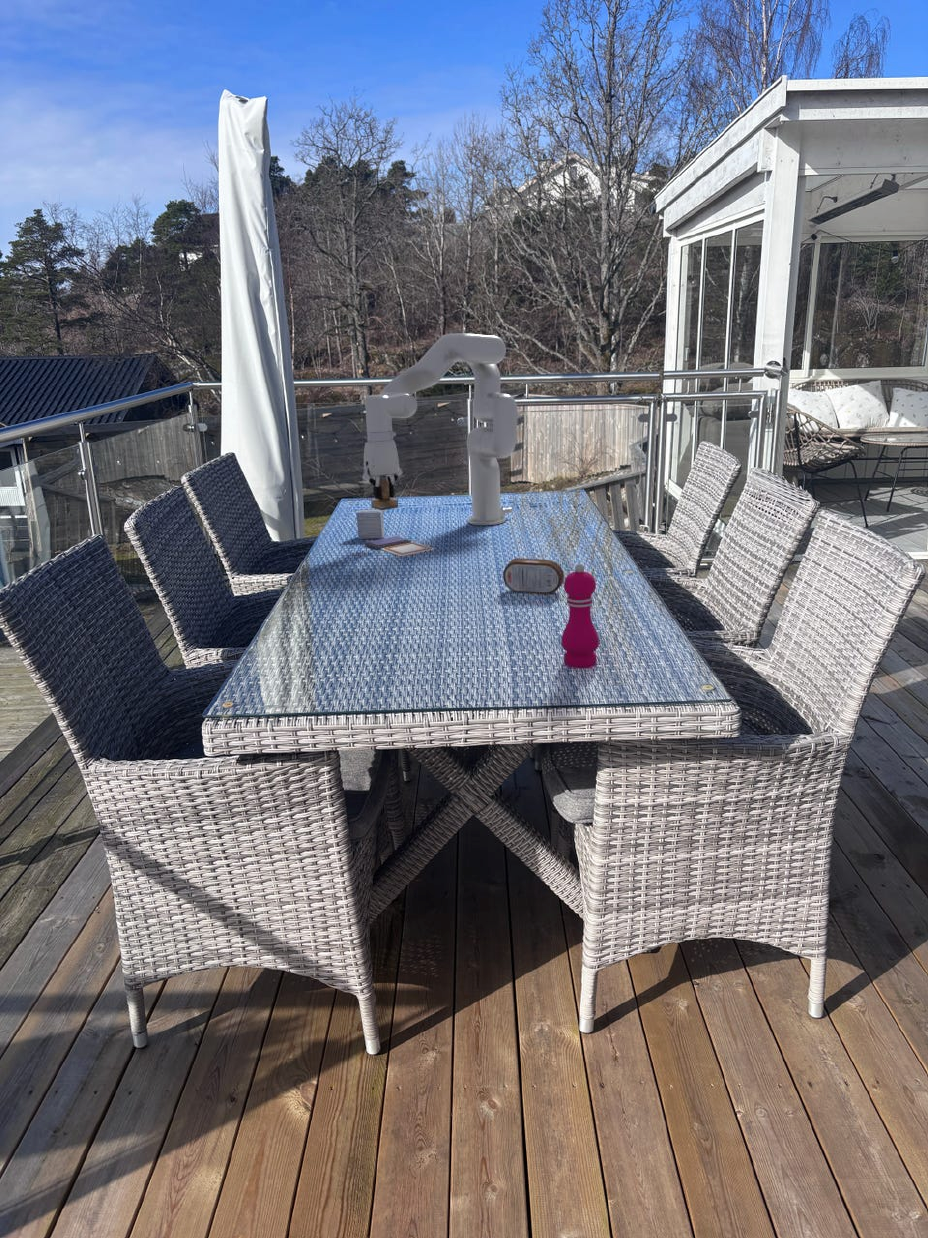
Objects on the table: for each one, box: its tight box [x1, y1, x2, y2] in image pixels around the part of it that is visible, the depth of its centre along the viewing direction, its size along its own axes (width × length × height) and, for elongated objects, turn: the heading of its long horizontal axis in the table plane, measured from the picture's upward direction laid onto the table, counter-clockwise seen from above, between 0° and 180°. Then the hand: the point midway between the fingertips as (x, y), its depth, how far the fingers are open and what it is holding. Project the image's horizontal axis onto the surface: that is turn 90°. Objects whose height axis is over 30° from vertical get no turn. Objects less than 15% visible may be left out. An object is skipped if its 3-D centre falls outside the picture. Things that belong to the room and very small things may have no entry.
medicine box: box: [355, 509, 386, 540], centre depth 286 cm, size 8×4×9 cm, turn 84°
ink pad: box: [364, 535, 412, 551], centre depth 277 cm, size 12×8×1 cm, turn 124°
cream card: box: [380, 541, 435, 558], centre depth 269 cm, size 12×12×1 cm
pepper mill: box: [560, 563, 600, 669], centre depth 171 cm, size 7×7×20 cm
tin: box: [502, 557, 565, 595], centre depth 219 cm, size 15×3×8 cm, turn 71°
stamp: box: [370, 480, 399, 511], centre depth 272 cm, size 6×6×8 cm
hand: (384, 497), depth 272 cm, fingers closed on stamp, 3 cm apart
